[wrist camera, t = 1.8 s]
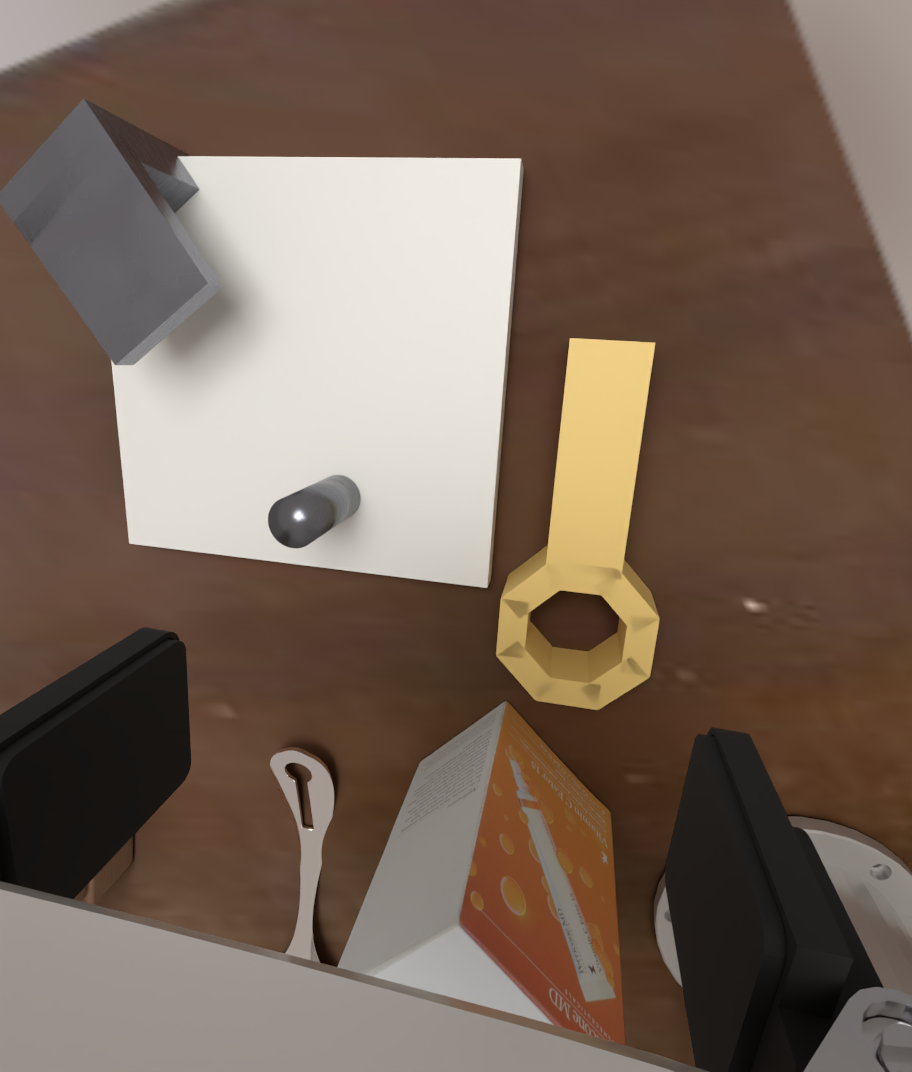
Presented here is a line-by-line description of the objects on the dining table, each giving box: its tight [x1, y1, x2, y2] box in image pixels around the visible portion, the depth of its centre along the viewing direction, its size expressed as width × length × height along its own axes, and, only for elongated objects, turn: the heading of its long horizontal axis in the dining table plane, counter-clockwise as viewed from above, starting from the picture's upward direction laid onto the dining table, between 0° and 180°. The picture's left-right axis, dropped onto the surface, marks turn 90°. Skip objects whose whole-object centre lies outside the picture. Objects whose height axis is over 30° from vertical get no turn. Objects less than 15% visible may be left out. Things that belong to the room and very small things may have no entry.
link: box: [496, 338, 660, 710], centre depth 25 cm, size 15×6×3 cm, turn 177°
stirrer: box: [270, 747, 334, 963], centre depth 34 cm, size 20×4×5 cm
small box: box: [337, 701, 626, 1045], centre depth 25 cm, size 8×6×13 cm
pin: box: [268, 475, 361, 548], centre depth 26 cm, size 2×2×6 cm
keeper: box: [0, 99, 224, 365], centre depth 24 cm, size 7×5×6 cm
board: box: [111, 156, 524, 588], centre depth 27 cm, size 18×17×1 cm
